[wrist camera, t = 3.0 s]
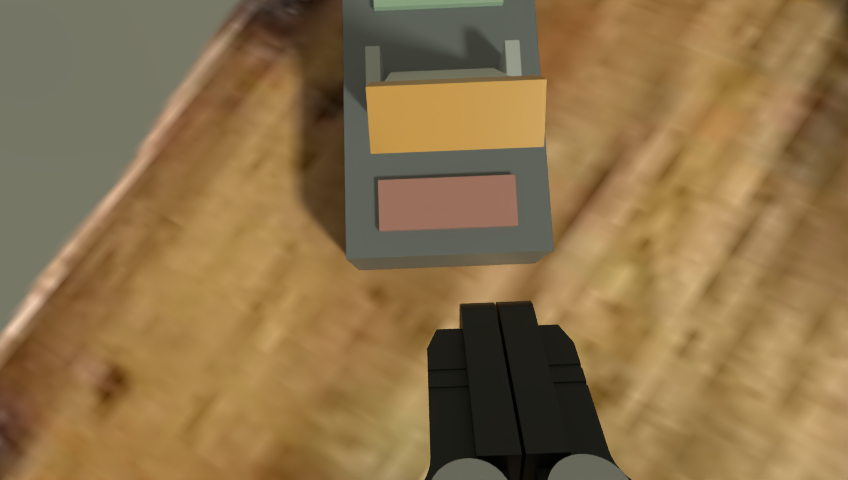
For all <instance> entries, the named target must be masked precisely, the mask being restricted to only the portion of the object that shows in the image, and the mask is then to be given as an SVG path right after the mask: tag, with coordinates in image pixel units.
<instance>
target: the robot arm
mask: <svg viewBox="0 0 848 480" xmlns="http://www.w3.org/2000/svg"><path fill="white" fill-rule="evenodd" d="M427 356H428V388H429V421H430V454H431V458H430V467H429V471H428V473H427V476H426V478H425V480H631V479H630V478H629V477H627V476H626V475H625V474H624V473H623V472H622V471H621V470H620V469H619V467H618V466H617V465H616V463H615V462H614V460H613V458H612V457H611V454H610V452H609V450H608V446H607V443H606V440H605V437H604V434H603V431H602V428H601V425H600V422H599V419H598V416H597V413H596V409H595V406H594V403H593V400H592V397H591V394H590V391H589V388H588V385H586V379H585V376H584V372H583V369H582V368H581V363H580V360H579V357H578V354H577V351H576V348H575V345H574V342H573V341H572V340H571V339H570V338H569V337H568V335H567V334H566V333H565V332H564V331H563V330H562V329H561V328H560V326H559V325H538V323H537V319H536V315H535V311H534V308H533V304H532V302H531V301H515V302H496V305H495V304H494V303H469V304H460V329H439V330H436V332H435V334H434V336H433V338H432V340H431V342H430V344H429V346H428V348H427Z"/></svg>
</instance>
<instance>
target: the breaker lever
mask: <svg viewBox="0 0 848 480" xmlns="http://www.w3.org/2000/svg"><path fill="white" fill-rule="evenodd" d="M546 80H547V79H545V78H542V77H539V76H537V75H526V76H509V75H507V74H505V73H503V72H501V71H499V70H497V69H495V68H479V69H455V70H431V71H408V72H391V73H390V74H389V76H388V77H387V78H386V80H385V81H383V82H370V83H369V84H368V85H367V86H366V98H367V112H368V125H369V139H370V152H371V154H380V153H405V152H429V151H454V150H478V149H503V148H527V147H544V135H545V108H546Z"/></svg>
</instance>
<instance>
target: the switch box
mask: <svg viewBox="0 0 848 480" xmlns="http://www.w3.org/2000/svg"><path fill="white" fill-rule="evenodd" d="M342 20H343V88H344V156H345V223H346V259H347V260H348V261H349V262H350V263H352V264H353V265H354V266H355V267H356V268H358V269H359V270H375V269H400V268H426V267H451V266H477V265H503V264H528V263H536V262H537V261H539V260H540V259H542V258H543V257H545V256H546V255H548V254H549V253H551V252H552V251H554V247H553V234H552V220H551V207H550V194H549V181H548V168H547V155H546V142H545V135H544V147H527V148H503V149H478V150H454V151H429V152H405V153H380V154H371V152H370V139H369V125H368V112H367V98H366V86H367V85H368V84H369V83H370V82H383V81H385V80H386V78H387V77H388V76H389V74H390V73H391V72H408V71H431V70H455V69H479V68H495V69H497V70H499V71H501V72H503V73H505V74H507V75H509V76H526V75H537V76H539V77H540V64H539V51H538V38H537V25H536V12H535V0H342Z"/></svg>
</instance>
